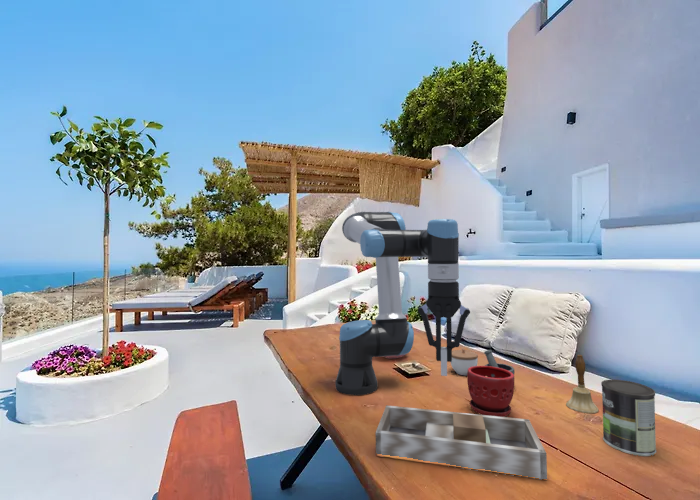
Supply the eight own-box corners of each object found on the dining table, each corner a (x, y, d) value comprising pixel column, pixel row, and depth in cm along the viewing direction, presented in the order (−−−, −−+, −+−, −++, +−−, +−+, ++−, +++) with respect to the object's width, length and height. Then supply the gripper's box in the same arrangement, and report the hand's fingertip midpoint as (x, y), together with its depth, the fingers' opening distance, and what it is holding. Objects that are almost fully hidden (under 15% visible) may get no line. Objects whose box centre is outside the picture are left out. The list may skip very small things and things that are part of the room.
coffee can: (610, 451, 82) (608, 391, 82) (597, 431, 91) (596, 377, 92) (665, 460, 78) (663, 397, 78) (646, 438, 87) (645, 382, 88)
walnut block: (454, 445, 81) (453, 426, 81) (453, 431, 87) (453, 413, 87) (486, 449, 79) (485, 429, 79) (482, 434, 85) (482, 416, 86)
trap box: (375, 456, 81) (375, 432, 81) (386, 425, 96) (386, 405, 96) (547, 480, 72) (546, 453, 72) (529, 441, 87) (529, 419, 87)
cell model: (417, 354, 166) (417, 330, 166) (400, 365, 149) (399, 339, 149) (385, 349, 175) (385, 327, 175) (366, 359, 158) (365, 334, 158)
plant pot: (512, 425, 95) (511, 381, 95) (463, 414, 102) (462, 373, 102) (517, 407, 106) (516, 368, 106) (473, 398, 113) (472, 361, 113)
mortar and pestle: (520, 389, 121) (519, 354, 121) (501, 393, 117) (500, 358, 117) (495, 379, 131) (494, 347, 131) (476, 383, 127) (475, 350, 127)
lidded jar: (463, 379, 131) (462, 354, 132) (444, 370, 141) (443, 347, 141) (484, 374, 136) (483, 350, 136) (464, 367, 146) (464, 344, 146)
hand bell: (588, 416, 100) (587, 360, 100) (560, 405, 107) (558, 353, 108) (604, 409, 104) (603, 356, 104) (575, 399, 111) (574, 349, 112)
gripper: (415, 281, 86) (416, 376, 86) (471, 282, 82) (472, 381, 82) (418, 279, 93) (419, 367, 93) (469, 279, 90) (470, 371, 89)
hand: (444, 373), depth 88 cm, fingers closed
